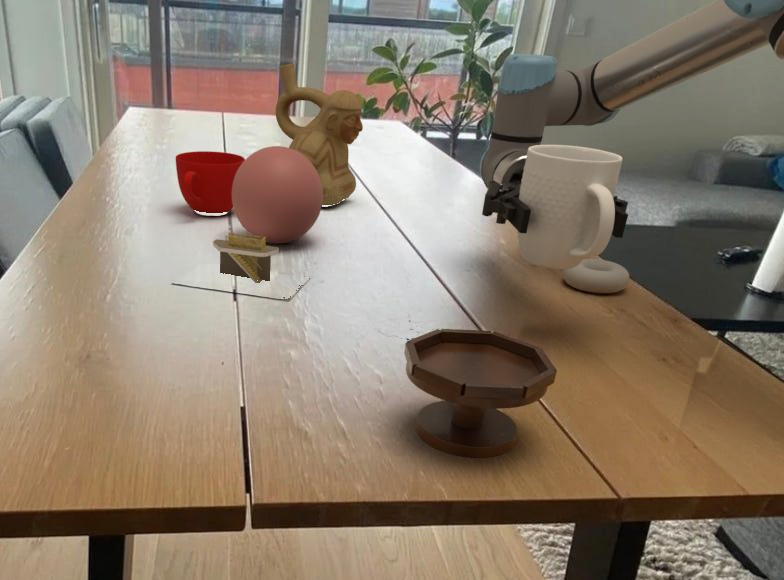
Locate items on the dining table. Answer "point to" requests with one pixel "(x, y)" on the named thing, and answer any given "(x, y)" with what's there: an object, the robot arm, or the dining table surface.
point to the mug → (567, 204)
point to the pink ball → (277, 194)
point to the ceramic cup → (207, 179)
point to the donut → (597, 276)
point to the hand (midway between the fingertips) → (574, 223)
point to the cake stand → (474, 387)
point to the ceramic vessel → (323, 133)
